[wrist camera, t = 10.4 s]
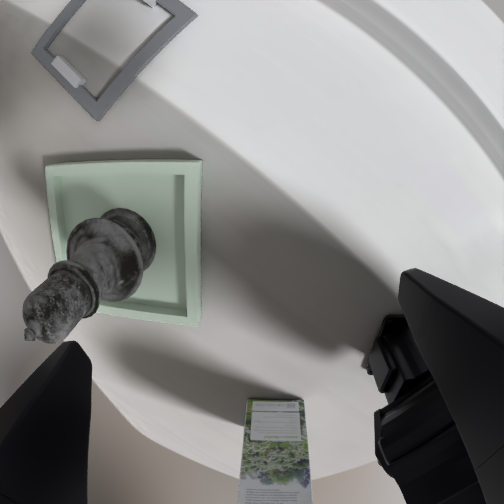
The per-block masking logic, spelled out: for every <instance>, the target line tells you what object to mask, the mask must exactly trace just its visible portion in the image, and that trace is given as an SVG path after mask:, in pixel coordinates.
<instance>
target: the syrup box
mask: <svg viewBox="0 0 504 504" xmlns="http://www.w3.org/2000/svg"><path fill="white" fill-rule="evenodd" d="M237 504H313V501H312V487H311V471H310V458H309V447H308V436H307V425H306V415H305V404H304V400H257V399H248V400H247V404H246V415H245V426H244V437H243V449H242V459H241V469H240V480H239V491H238V500H237Z"/></svg>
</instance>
